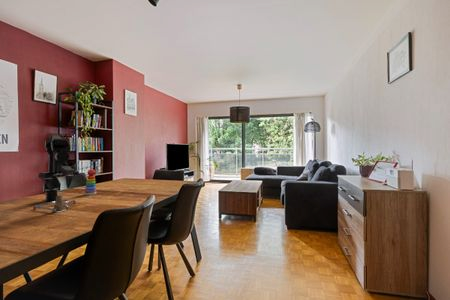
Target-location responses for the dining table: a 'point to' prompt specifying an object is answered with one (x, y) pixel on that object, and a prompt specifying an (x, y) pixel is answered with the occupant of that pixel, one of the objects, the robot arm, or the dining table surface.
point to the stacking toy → (90, 183)
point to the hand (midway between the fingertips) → (59, 189)
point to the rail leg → (55, 202)
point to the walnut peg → (59, 203)
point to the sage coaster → (60, 211)
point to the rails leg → (51, 208)
